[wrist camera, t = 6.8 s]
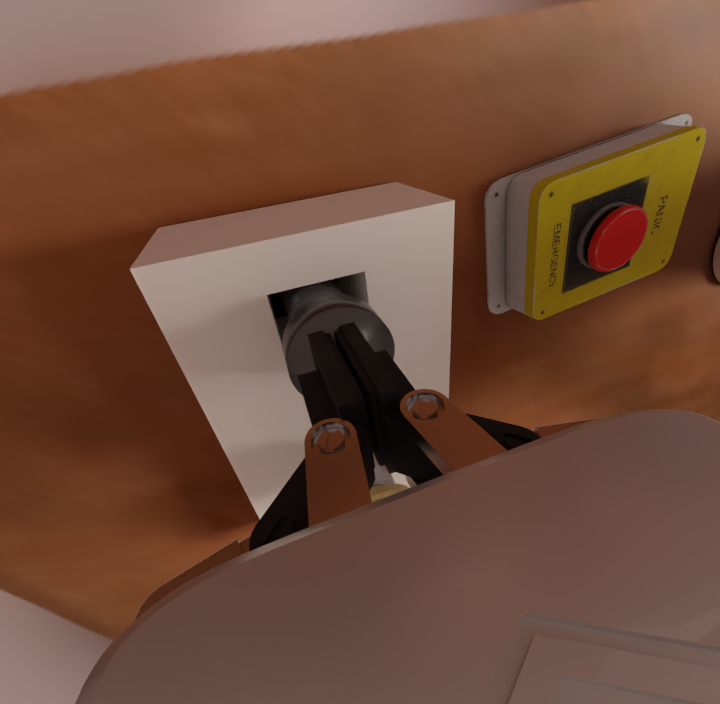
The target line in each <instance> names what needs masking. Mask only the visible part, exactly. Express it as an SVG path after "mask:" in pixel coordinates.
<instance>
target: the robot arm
mask: <svg viewBox="0 0 720 704" xmlns="http://www.w3.org/2000/svg"><path fill="white" fill-rule="evenodd" d="M713 270H714V274H715V277H716V278H717V280H718V281H719V282H720V236H719V238H718V241H717V244H716V247H715V252H714V256H713ZM334 335H335V340H336V343H335V341H334V340H333V338H332V336H331V334H330V333H327V334H325V333H324V331H323V330H322V331H319V332H315V333H311V334H308V339H309V343H310V347H311V351H312V355H313V359H314V363H315V367H316V370H315V371H311V372H308V373H304V374H301V375H298V380H299V384H300V387H301V391H302V394H303V397H304V401H305V404H306V408H307V411H308V414H309V418H310V421H311V424H312V427H311V428H310V429H309V430H308V432H307V434H306V436H305V441H304V447H305V458H304V459H303V461H302V462H301V463H300V465H299V466H298V468H297V469H296V470H295V472H294V473H293V475H292V476H291V477H290V479H289V480H288V481H287V483H286V484H285V486H284V487H283V488H282V490H281V491H280V493H279V494H278V495H277V497H276V498H275V499H274V501H273V502H272V504H271V505H270V506H269V508H268V509H267V511H266V512H265V513H264V515H263V516H262V517H261V519H260V520H259V522H258V523H257V524H256V526H255V528H254V530H253V532H252V533H251V536H250V537H248V538H246V539H245V540H243V541H242V542H240V543H239V541H238V540H235V541H234V542H232V543H230V544H229V545H227V546H226V547H224V548H222V549H221V550H219V551H217V552H216V553H214V554H212V555H211V556H209V557H208V558H206V559H204V560H203V561H201V562H199V563H198V564H196V565H195V566H193V567H191V568H190V569H188V570H186V571H185V572H183V573H181V574H180V575H178V576H177V577H175V578H173V579H172V580H170V581H168V582H167V583H165V584H163V585H162V586H160V587H159V588H158V589H157V590H155V591H154V592H153V593H152V594H150V596H149V597H148V598H147V599H146V601H145V602H144V603H143V605H142V606H141V608H140V610H139V612H138V614H137V616H136V619H135V621H134V622H133V623H132V624H130V625H129V626H128V627H127V628H126V629H125V630H124V631H123V632H122V633H121V634H120V635H119V636H118V637H117V638H116V639H115V640H114V641H113V642H112V643H111V644H110V646H109V647H108V648H107V649H106V651H105V652H104V653H103V654H102V656H101V657H100V658H99V660H98V661H97V663H96V664H95V666H94V667H93V669H92V671H91V673H90V674H89V676H88V678H87V680H86V681H85V683H84V685H83V687H82V689H81V692H80V694H79V696H78V699H77V701H76V703H75V704H720V422H719V421H716V420H714V419H712V418H709V417H707V416H704V415H701V414H697V413H694V412H689V411H682V410H672V409H645V410H638V411H630V412H622V413H618V414H614V415H609V416H605V417H601V418H598V419H589V420H582V421H575V422H568V423H561V424H554V425H547V426H540V427H536V428H535V431H531V430H529V429H527V428H524V427H521V426H517V425H512V424H508V423H504V422H500V421H496V420H491V419H487V418H483V417H479V416H475V415H470V414H466V413H464V412H463V411H462V410H461V409H460V408H458V407H457V406H456V405H455V404H454V403H453V402H452V401H450V400H449V399H448V398H447V397H446V396H445V395H443V394H442V393H440V392H438V391H435V390H431V389H418V390H415V389H414V387H413V386H412V385H411V383H410V382H409V381H408V379H407V378H406V376H405V375H404V374H403V372H402V371H401V370H400V368H399V367H398V366H397V364H396V363H395V362H394V360H393V359H392V358H391V356H390V355H389V354H388V352H387V351H386V350H382V351H379V352H376V353H375V352H374V350H373V349H372V348H371V346H370V345H369V343H368V342H367V340H366V339H365V337H364V336H363V334H362V333H361V331H360V330H359V329H358V327H357V326H356V324H355V323H354V322H352V323H348V324H344V325H341V326H339V330H338V331H334ZM373 453H374V456H375V458H376V460H377V462H378V464H379V466H383V465H385V466H386V468H387V470H388V472H389V474H392V473H394V472H397V473H400V474H403V475H405V476H406V480H407V482H408V484H409V486H410V487H411V488H409V489H406V490H403V491H401V492H398V493H396V494H393V495H390V496H388V497H385V498H383V499H380V500H377V501H375V502H372V500H371V496H370V489H371V487H372V485H373V483H374V481H375V472H374V469H375V462H374V456H373Z"/></svg>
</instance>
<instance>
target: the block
mask: <svg viewBox="0 0 720 704" xmlns="http://www.w3.org/2000/svg"><path fill="white" fill-rule="evenodd" d="M454 214H455V200H453V199H449V198H446V197H443V196H440V195H437V194H433V193H430V192H427V191H424V190H420V189H417V188H414V187H411V186H408V185H404V184H401V183H398V182H392V183H387V184H382V185H377V186H372V187H366V188H361V189H356V190H351V191H346V192H341V193H335V194H330V195H325V196H320V197H315V198H310V199H304V200H299V201H294V202H289V203H284V204H279V205H273V206H268V207H263V208H258V209H253V210H248V211H242V212H237V213H232V214H227V215H222V216H217V217H211V218H206V219H201V220H196V221H191V222H186V223H180V224H175V225H170V226H165V227H160V228H158V229H157V230H156V232H155V233H154V234H153V236H152V237H151V239H150V240H149V242H148V243H147V244H146V246H145V247H144V249H143V250H142V252H141V253H140V255H139V256H138V257H137V259H136V260H135V262H134V263H133V265H132V266H131V267H130V271H131V273H132V275H133V277H134V279H135V281H136V283H137V285H138V286H139V288H140V290H141V292H142V294H143V296H144V298H145V300H146V302H147V304H148V306H149V308H150V310H151V311H152V313H153V315H154V317H155V319H156V321H157V323H158V325H159V327H160V329H161V331H162V333H163V335H164V336H165V338H166V340H167V342H168V344H169V346H170V348H171V350H172V352H173V354H174V356H175V358H176V360H177V361H178V363H179V365H180V367H181V369H182V371H183V373H184V375H185V377H186V379H187V381H188V383H189V385H190V386H191V388H192V390H193V392H194V394H195V396H196V398H197V400H198V402H199V404H200V406H201V408H202V410H203V411H204V413H205V415H206V417H207V419H208V421H209V423H210V425H211V427H212V429H213V431H214V433H215V434H216V436H217V438H218V440H219V442H220V444H221V446H222V448H223V450H224V452H225V454H226V456H227V458H228V459H229V461H230V463H231V465H232V467H233V469H234V471H235V473H236V475H237V477H238V479H239V481H240V483H241V484H242V486H243V488H244V490H245V492H246V494H247V496H248V498H249V500H250V502H251V504H252V506H253V508H254V509H255V511H256V513H257V515H258V517H259V519H261V517H262V516H263V515H264V513H265V512H266V511H267V509H268V508H269V506H270V505H271V504H272V502H273V501H274V499H275V498H276V497H277V495H278V494H279V493H280V491H281V490H282V488H283V487H284V486H285V484H286V483H287V481H288V480H289V479H290V477H291V476H292V475H293V473H294V472H295V470H296V469H297V468H298V466H299V465H300V463H301V462H302V461H303V459H304V458H305V447H304V441H305V436H306V434H307V432H308V430H309V429H310V428H311V427H312V424H311V421H310V418H309V414H308V411H307V408H306V404H305V401H304V397H303V395H302V394H301V393H299V392H298V391H297V389H296V388H295V387H294V385H293V384H292V382H291V379H290V377H289V373H288V369H287V365H286V361H285V357H284V353H283V347H282V340H283V334H284V330H285V328H286V325H287V324H288V322H289V318H288V315H286V316H282V317H278V318H276V317H275V313H274V310H273V307H272V303H271V300H270V296H269V294H273V293H277V292H281V291H285V290H290V289H294V288H298V287H302V286H306V285H310V284H315V283H319V282H323V281H327V280H331V279H335V278H337V280H338V286H339V288H340V290H341V291H342V293H343V294H348V295H352V296H355V297H358V298H360V299H362V300H363V301H365V302H366V303H367V304H368V305H369V306H371V307H372V309H373V310H374V311H375V312H376V314H377V315H378V316H379V317H380V318H381V320H382V321H383V322H384V323H385V325H386V326H387V327H388V329H389V330H390V332H391V334H392V337H393V340H394V345H395V353H394V359H393V360H394V362H395V363H396V364H397V366H398V367H399V368H400V370H401V371H402V372H403V374H404V375H405V376H406V378H407V379H408V381H409V382H410V383H411V385H412V386H413V387H414V389H415V390H418V389H431V390H435V391H438V392H440V393H442V394H443V395H445V396H446V397H447V398H448V399H449V378H450V345H451V312H452V280H453V247H454ZM391 475H392V477H393V479H394V482H395V483H396V484H403V485H405V486H408V487H409V488H411V487H410V486H409V484H408V482H407V480H406V476H405V475H403V474H400V473H397V472H394V473H392V474H391Z"/></svg>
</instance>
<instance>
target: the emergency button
mask: <svg viewBox="0 0 720 704" xmlns="http://www.w3.org/2000/svg"><path fill="white" fill-rule="evenodd" d="M706 134H707V133H706V130H705V128H702V127H696V126H692V118H691V116H690V115H689V114H678V115H675V116H673V117H670V118H667V119H664V120H661V121H659V122H656V123H653V124H650V125H648V126H645V127H642V128H639V129H636V130H634V131H631V132H628V133H625V134H623V135H620V136H617V137H614V138H611V139H609V140H606V141H603V142H600V143H598V144H595V145H592V146H589V147H586V148H584V149H581V150H578V151H575V152H573V153H570V154H567V155H564V156H562V157H559V158H556V159H553V160H550V161H548V162H545V163H542V164H539V165H537V166H534V167H531V168H528V169H525V170H523V171H520V172H517V173H514V174H512V175H509V176H506V177H503V178H500V179H499V180H497V181H496V182H494V183H493V184H492V185H491V186H490V188H489V189H488V190H487V192H486V195H485V200H484V211H485V243H486V274H487V306H488V309H489V312H491V313H494V314H500V313H504V312H506V311H509V310H511V309H514V310H517V311H519V312H521V313H523V314H525V315H527V316H528V317H530V318H533V319H536V320H541V319H545V318H547V317H549V316H552V315H554V314H556V313H559V312H561V311H564V310H566V309H568V308H571V307H573V306H576V305H578V304H580V303H583V302H585V301H588V300H590V299H592V298H595V297H597V296H599V295H602V294H604V293H607V292H609V291H611V290H614V289H616V288H619V287H621V286H623V285H626V284H628V283H631V282H633V281H635V280H638V279H640V278H642V277H645V276H647V275H650V274H652V273H654V272H657V271H659V270H660V269H662V268H663V267H664V266H665V265H666V264H667V262H668V261H669V259H670V257H671V254H672V251H673V248H674V244H675V241H676V238H677V235H678V231H679V228H680V225H681V221H682V218H683V215H684V211H685V208H686V205H687V201H688V198H689V195H690V191H691V188H692V185H693V181H694V178H695V175H696V171H697V168H698V165H699V161H700V158H701V155H702V151H703V148H704V145H705V141H706Z"/></svg>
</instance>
